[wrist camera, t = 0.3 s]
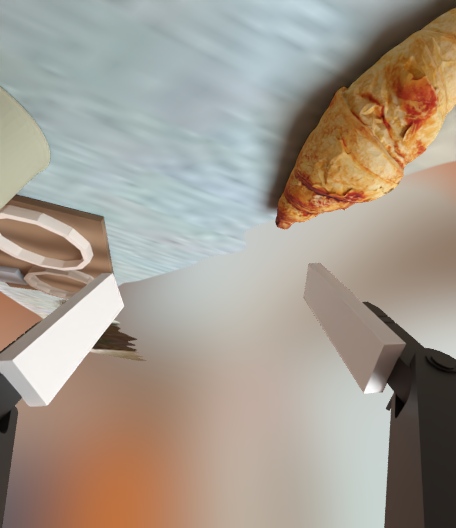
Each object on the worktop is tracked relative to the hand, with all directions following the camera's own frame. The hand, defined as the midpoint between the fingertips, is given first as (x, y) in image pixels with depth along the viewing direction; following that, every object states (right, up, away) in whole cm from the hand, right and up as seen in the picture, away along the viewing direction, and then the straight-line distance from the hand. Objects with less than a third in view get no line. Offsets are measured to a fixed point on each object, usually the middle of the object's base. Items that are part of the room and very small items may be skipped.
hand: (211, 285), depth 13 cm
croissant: (+13, +14, +6) cm, 20 cm away
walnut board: (-32, +3, +21) cm, 38 cm away
